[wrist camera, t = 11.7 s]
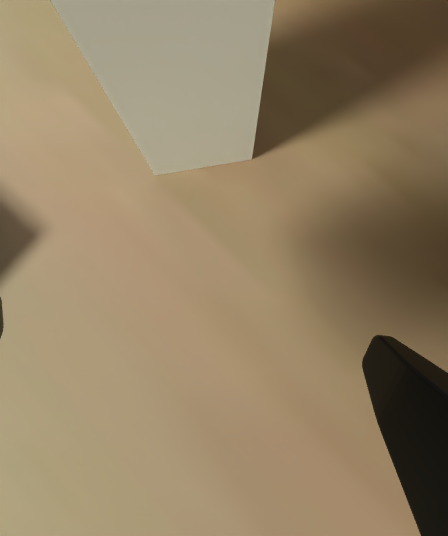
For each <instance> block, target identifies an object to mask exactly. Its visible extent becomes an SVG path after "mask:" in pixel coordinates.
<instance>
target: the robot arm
mask: <svg viewBox="0 0 448 536" xmlns="http://www.w3.org/2000/svg"><path fill="white" fill-rule="evenodd" d="M2 332H3V312H2V301H1V298H0V338H1V336H2ZM362 368H363V372H364V376H365V379H366V383H367V387H368V390H369V394H370V398H371V401H372V405H373V409H374V412H375V416H376V419H377V422H378V425H379V428H380V431H381V433H382V436H383V438H384V441H385V444H386V446H387V449H388V451H389V454H390V457H391V459H392V462H393V464H394V467H395V469H396V472H397V475H398V477H399V480H400V482H401V485H402V488H403V490H404V493H405V495H406V498H407V501H408V503H409V506H410V508H411V511H412V514H413V516H414V519H415V521H416V524H417V527H418V529H419V532H420V534H421V536H448V373H447V372H445V371H444V370H442V369H441V368H439V367H438V366H436V365H435V364H433V363H432V362H430V361H428V360H427V359H425V358H424V357H422V356H421V355H419V354H418V353H416V352H415V351H413V350H412V349H410V348H408V347H407V346H405V345H404V344H402V343H401V342H399V341H398V340H396V339H395V338H393V337H390V336H383V335H376V336H375V337H373V339H372V341H371V343H370V345H369V347H368V349H367V351H366V353H365V356H364V358H363V361H362Z"/></svg>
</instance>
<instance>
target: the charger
mask: <svg viewBox="0 0 448 536" xmlns="http://www.w3.org/2000/svg"><path fill="white" fill-rule="evenodd" d="M50 1H51V2H52V4H53V6H54V7H55V9H56V11H57V12H58V14H59V16H60V17H61V19H62V21H63V22H64V24H65V26H66V28H67V29H68V31H69V33H70V34H71V36H72V38H73V39H74V41H75V43H76V44H77V46H78V48H79V49H80V51H81V53H82V54H83V56H84V58H85V59H86V61H87V63H88V64H89V66H90V68H91V69H92V71H93V73H94V74H95V76H96V78H97V80H98V81H99V83H100V85H101V86H102V88H103V90H104V91H105V93H106V95H107V96H108V98H109V100H110V101H111V103H112V105H113V106H114V108H115V110H116V111H117V113H118V115H119V116H120V118H121V120H122V121H123V123H124V125H125V126H126V128H127V130H128V131H129V133H130V135H131V137H132V138H133V140H134V142H135V143H136V145H137V147H138V148H139V150H140V152H141V153H142V155H143V157H144V158H145V160H146V162H147V163H148V165H149V167H150V168H151V170H152V172H153V173H154V175H155V176H156V175H162V174H168V173H174V172H180V171H186V170H192V169H198V168H204V167H210V166H216V165H222V164H228V163H234V162H240V161H246V160H252V155H253V148H254V141H255V134H256V127H257V120H258V114H259V107H260V100H261V93H262V86H263V79H264V72H265V65H266V58H267V51H268V44H269V37H270V30H271V23H272V16H273V10H274V3H275V0H50Z"/></svg>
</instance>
